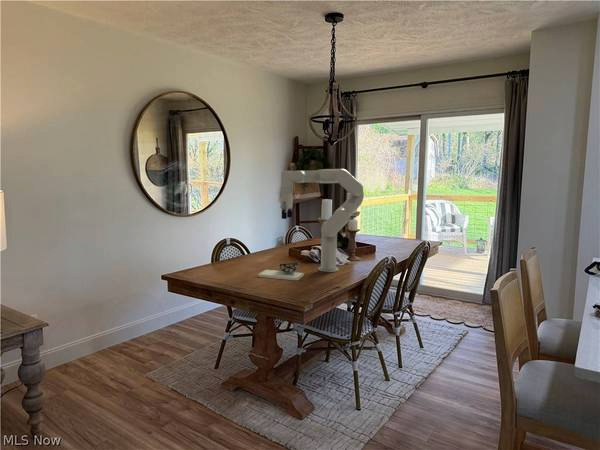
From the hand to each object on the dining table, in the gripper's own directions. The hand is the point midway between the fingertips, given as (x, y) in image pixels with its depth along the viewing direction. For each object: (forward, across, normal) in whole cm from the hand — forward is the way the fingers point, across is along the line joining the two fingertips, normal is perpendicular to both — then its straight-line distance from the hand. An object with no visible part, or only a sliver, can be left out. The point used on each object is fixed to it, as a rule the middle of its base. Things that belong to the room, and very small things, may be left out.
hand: (286, 218), depth 255 cm
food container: (+30, +11, +6) cm, 32 cm away
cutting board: (+32, +20, +4) cm, 38 cm away
